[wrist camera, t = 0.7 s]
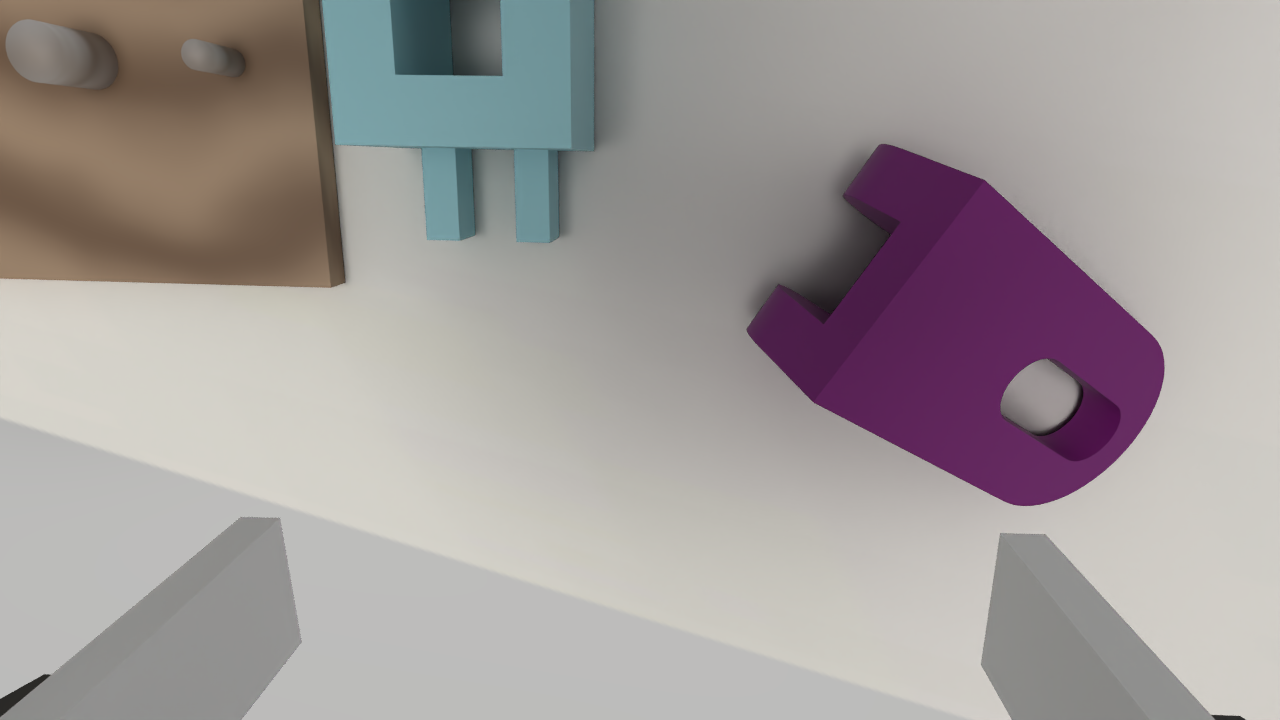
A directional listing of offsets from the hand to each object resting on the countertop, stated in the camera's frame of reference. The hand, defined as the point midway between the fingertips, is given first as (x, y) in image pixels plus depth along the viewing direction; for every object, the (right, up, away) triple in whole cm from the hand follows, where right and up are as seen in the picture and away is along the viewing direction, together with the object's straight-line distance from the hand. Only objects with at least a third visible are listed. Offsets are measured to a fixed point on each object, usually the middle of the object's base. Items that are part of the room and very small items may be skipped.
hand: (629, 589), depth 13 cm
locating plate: (-24, +18, +21) cm, 37 cm away
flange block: (-6, +18, +19) cm, 27 cm away
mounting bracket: (+15, +5, +22) cm, 27 cm away
